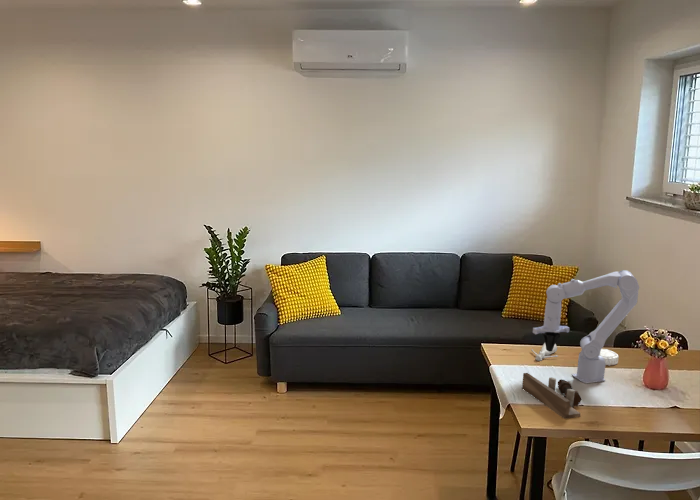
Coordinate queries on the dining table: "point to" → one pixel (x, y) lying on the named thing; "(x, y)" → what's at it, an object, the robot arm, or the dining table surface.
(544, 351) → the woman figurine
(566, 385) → the dark brown elongated lump
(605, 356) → the mooncake
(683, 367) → the dining table surface
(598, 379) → the robot arm
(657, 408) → the dining table surface
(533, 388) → the peg rack
